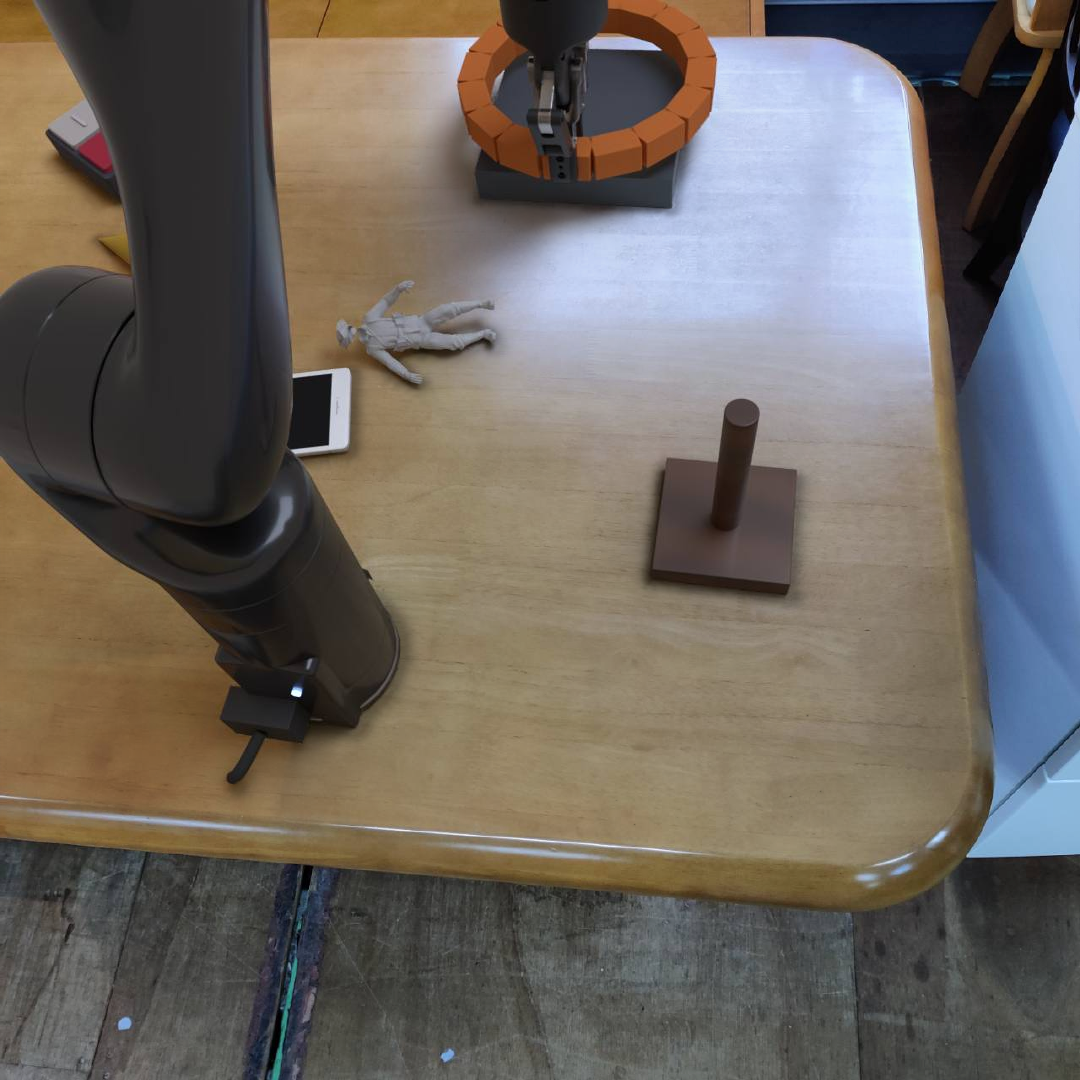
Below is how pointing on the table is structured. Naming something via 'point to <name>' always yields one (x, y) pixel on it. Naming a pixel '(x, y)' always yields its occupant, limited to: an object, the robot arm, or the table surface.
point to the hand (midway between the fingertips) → (567, 167)
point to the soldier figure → (410, 330)
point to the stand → (593, 129)
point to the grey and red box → (84, 146)
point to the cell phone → (320, 412)
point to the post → (727, 514)
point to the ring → (611, 151)
